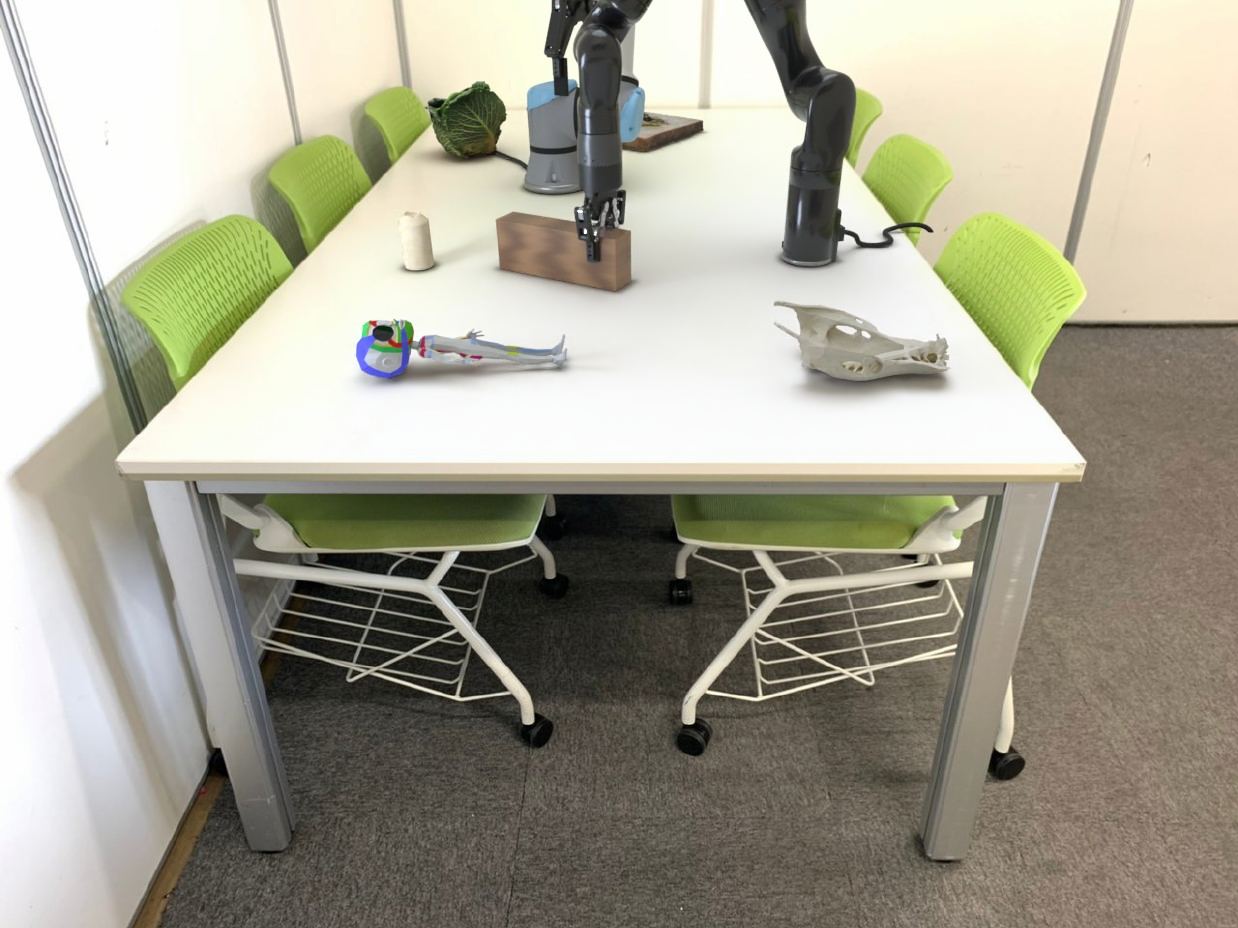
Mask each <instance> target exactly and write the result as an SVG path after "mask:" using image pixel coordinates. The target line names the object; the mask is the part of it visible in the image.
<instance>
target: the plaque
mask: <svg viewBox="0 0 1238 928" xmlns="http://www.w3.org/2000/svg"><path fill="white" fill-rule="evenodd" d="M704 130H705V129H704V120H702V119H698V118H693V117H685V116H679V115H669V114H663V113H659V112H650V111H644V116H643V121H642V126H641V129H640V132H639V135H638V137H637V138H636V139H635V140H634V141H632V142H622V149H625V150H632V151H640V152H648V151H654V150H656V149H659V148H662V147H663V146H664V147H665V146H667V145H670V144H672V143H676V142H680V141H682V140H684V139H687V138H691V137H692V136H694V135H696V134H698V133H700V132H704Z"/></svg>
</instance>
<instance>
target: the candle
mask: <svg viewBox="0 0 1238 928" xmlns="http://www.w3.org/2000/svg"><path fill="white" fill-rule="evenodd" d="M397 224H398V232H399V238H400V244H401V251H402V257H403V258H402V259H403V264H404V267H405V269H407V270H410V271H422V270H423V271H424V270H427V269H431V268H432V267H433V266H434V265H435V259H434V252H433V250H434V249H433V244H432V236H431V228H430V227H431V226H430V220H429V218H428V217H427V216H425V215H424V214H423V213H421V212H414V211H405V213H403V214H402V215H401V217H400V218H399V220H398V221H397Z"/></svg>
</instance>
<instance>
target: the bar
mask: <svg viewBox="0 0 1238 928" xmlns="http://www.w3.org/2000/svg"><path fill="white" fill-rule="evenodd" d="M495 228H496V239H497V250H498V262H499V269H500V270H504V271H509V272H514V273H518V274H519V273H520V274H525V275H529V276H535V277H540V278H545V279H550V280H555V281H560V282H565V283H571V284H576V285H581V286H587V287H591V288H596V289H601V290H606V291H611V292H618V291H619V290H621V289H622V288H624V287H625V286H627V285H628V284H630V283H631V282H632V230H630V229H624V228H620V227H619V228H612V227H606V226H604V228H603V229H601V231H600V236H599V241H598V242H599V255H600V261H599V262H597V263H591V262H588V261H587V254H586V252H587V251H586V241H583V240H579V239H578V235H577V228H576V221H575V220H568V219H562V218H556V217H550V216H543V215H537V214H531V213H524V212H519V211H511V212H509V213H506V214H505V215H502V216H500V217H498V218H496V219H495ZM592 229H593V235H594V232H595V228H593V227H592ZM584 231H585V229H583V233H584Z"/></svg>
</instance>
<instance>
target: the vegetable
mask: <svg viewBox="0 0 1238 928" xmlns="http://www.w3.org/2000/svg"><path fill="white" fill-rule="evenodd" d="M424 109H425V110H428V113H429V117H430V119H429V120H430V121H431V123H432V129H433V132H434V134H435V138H436V140H437V142H438V143H439V144H440V145H441V146H442V148H443V149H444V151H445V152H446V153H448V154H450V155H451V156H454V157H459V158H466V159H468V158H470V157H469V156H472V155H476V154H479V153H482V154H484V153H485V154H488V155H489V154H490V155H496V153H495V151H496V150H497V151H498V146H497V144H498V142H499V139H500V136H501V134H502V133H503V132H502V131H503V130H502V129H501V126H502V125H503V123H504V122H505V121H507V116H508V113H507V108H506V105H505V102H504V101H503V100H502V98H500V96H498V94H497V93H496V92H495V91H493V90H491V87H490V85H489V84H488V83H487V82H485V80H483V81H481V80H480V81H479V80H476V81H475V82H474V83H472V84H471V86H468V87H466V88H464V89H462V90H460V91H455V92H452V93H450V95H449V96H448V97H447V98H441V97H433V98H432V99H429V100H428V101H427V105H425V106H424Z"/></svg>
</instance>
